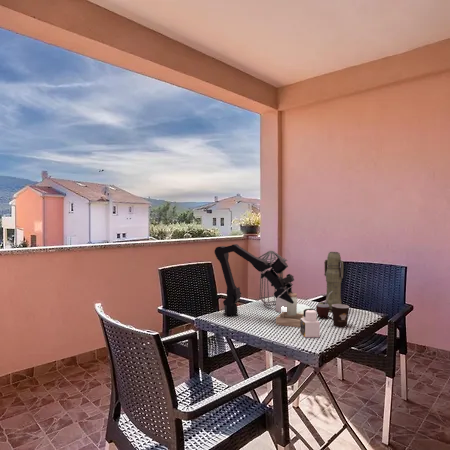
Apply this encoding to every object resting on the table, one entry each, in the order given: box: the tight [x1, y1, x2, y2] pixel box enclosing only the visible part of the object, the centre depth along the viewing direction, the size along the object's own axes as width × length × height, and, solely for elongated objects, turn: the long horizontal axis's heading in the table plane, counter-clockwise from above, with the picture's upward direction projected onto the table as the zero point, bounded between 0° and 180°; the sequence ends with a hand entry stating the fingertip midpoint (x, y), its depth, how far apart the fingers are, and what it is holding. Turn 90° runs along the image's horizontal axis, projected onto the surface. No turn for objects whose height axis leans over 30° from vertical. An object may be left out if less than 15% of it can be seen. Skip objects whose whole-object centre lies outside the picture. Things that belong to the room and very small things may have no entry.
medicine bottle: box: [299, 308, 321, 338], centre depth 168 cm, size 7×7×12 cm
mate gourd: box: [315, 291, 333, 320], centre depth 199 cm, size 8×8×15 cm
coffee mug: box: [325, 303, 350, 328], centre depth 185 cm, size 12×9×10 cm
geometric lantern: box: [258, 250, 288, 309], centre depth 222 cm, size 16×16×35 cm
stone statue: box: [323, 251, 345, 314], centre depth 213 cm, size 9×12×35 cm
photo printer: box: [275, 295, 287, 313], centre depth 209 cm, size 10×4×12 cm, turn 39°
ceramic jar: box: [287, 292, 298, 316], centre depth 188 cm, size 5×5×11 cm
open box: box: [275, 312, 303, 328], centre depth 188 cm, size 13×13×4 cm
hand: (294, 302), depth 188 cm, fingers closed on ceramic jar, 5 cm apart
